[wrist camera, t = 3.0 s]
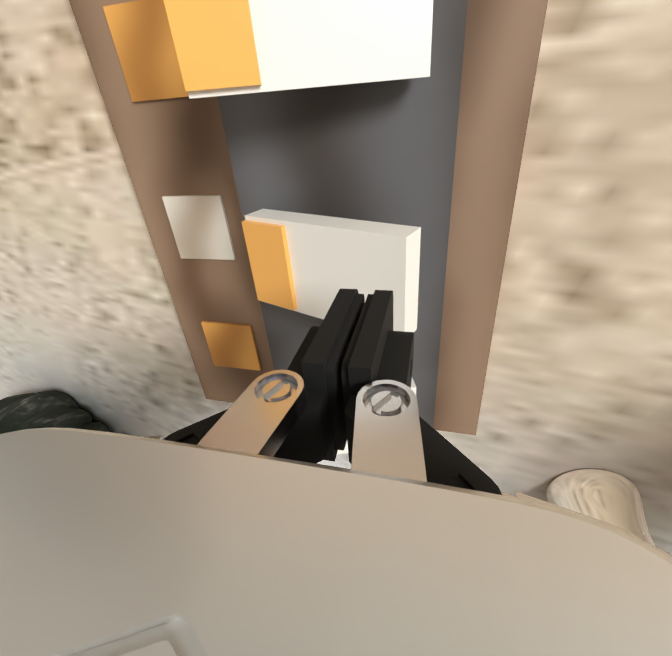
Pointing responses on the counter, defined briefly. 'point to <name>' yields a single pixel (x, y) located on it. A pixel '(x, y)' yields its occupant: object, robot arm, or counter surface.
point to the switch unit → (329, 184)
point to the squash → (44, 413)
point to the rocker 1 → (297, 43)
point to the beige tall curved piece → (601, 499)
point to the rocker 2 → (332, 261)
